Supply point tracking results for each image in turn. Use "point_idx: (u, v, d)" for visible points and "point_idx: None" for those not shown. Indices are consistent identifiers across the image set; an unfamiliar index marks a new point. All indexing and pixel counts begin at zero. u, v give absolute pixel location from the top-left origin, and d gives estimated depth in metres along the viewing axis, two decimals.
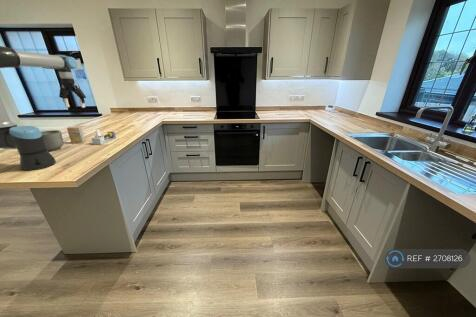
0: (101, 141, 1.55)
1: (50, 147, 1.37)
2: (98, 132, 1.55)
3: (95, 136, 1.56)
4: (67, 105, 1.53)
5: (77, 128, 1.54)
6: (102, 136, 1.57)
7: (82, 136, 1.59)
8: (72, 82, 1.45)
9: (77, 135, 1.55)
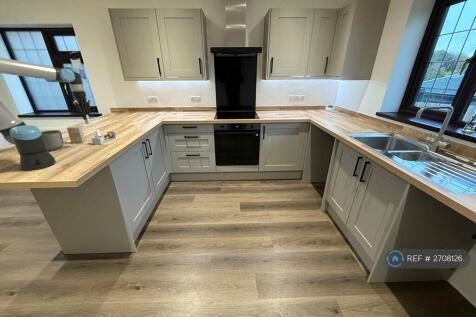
0: (101, 141, 1.55)
1: (50, 147, 1.37)
2: (98, 132, 1.55)
3: (95, 136, 1.56)
4: None
5: (77, 128, 1.54)
6: (102, 136, 1.57)
7: (82, 136, 1.59)
8: None
9: (77, 135, 1.55)
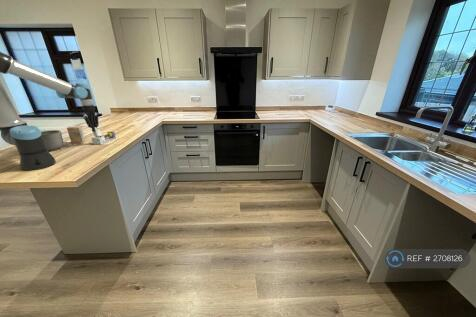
0: (101, 141, 1.55)
1: (50, 147, 1.37)
2: (98, 132, 1.56)
3: (95, 136, 1.56)
4: None
5: (77, 128, 1.54)
6: (102, 136, 1.57)
7: (82, 136, 1.59)
8: None
9: (77, 135, 1.55)
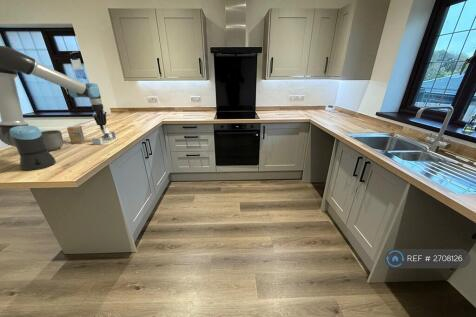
0: (101, 141, 1.55)
1: (50, 147, 1.37)
2: (106, 129, 1.64)
3: (103, 133, 1.64)
4: None
5: (77, 128, 1.54)
6: (110, 133, 1.65)
7: (82, 136, 1.59)
8: None
9: (77, 135, 1.55)
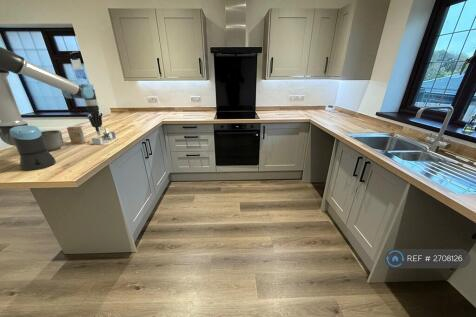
0: (101, 141, 1.55)
1: (50, 147, 1.37)
2: (106, 129, 1.64)
3: (104, 133, 1.64)
4: None
5: (77, 128, 1.54)
6: (110, 133, 1.66)
7: (82, 136, 1.59)
8: None
9: (77, 135, 1.55)
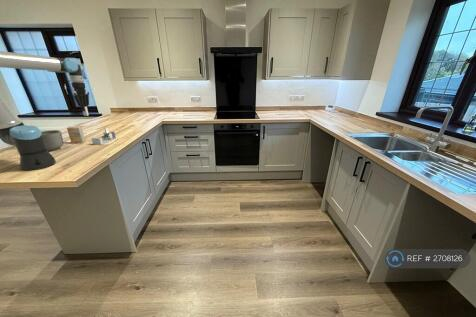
0: (101, 141, 1.55)
1: (50, 147, 1.37)
2: (106, 129, 1.64)
3: (104, 133, 1.64)
4: None
5: (77, 128, 1.54)
6: (110, 133, 1.66)
7: (82, 136, 1.59)
8: None
9: (77, 135, 1.55)
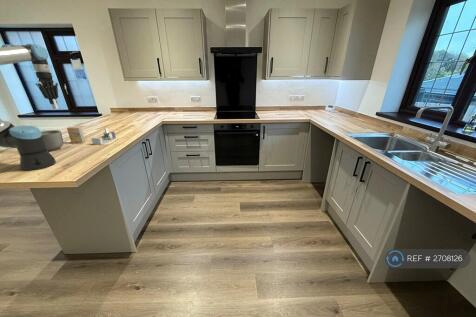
0: (101, 141, 1.55)
1: (50, 147, 1.37)
2: (106, 129, 1.64)
3: (104, 133, 1.64)
4: None
5: (77, 128, 1.54)
6: (110, 133, 1.66)
7: (82, 136, 1.59)
8: None
9: (77, 135, 1.55)
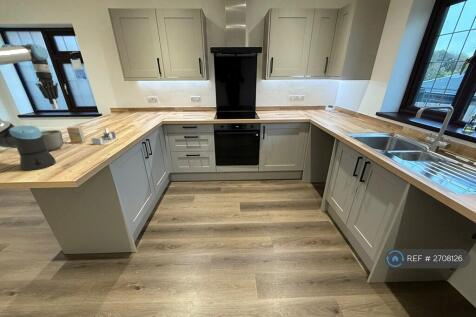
0: (101, 141, 1.55)
1: (50, 147, 1.37)
2: (106, 129, 1.64)
3: (104, 133, 1.64)
4: None
5: (77, 128, 1.54)
6: (110, 133, 1.66)
7: (82, 136, 1.59)
8: None
9: (77, 135, 1.55)
